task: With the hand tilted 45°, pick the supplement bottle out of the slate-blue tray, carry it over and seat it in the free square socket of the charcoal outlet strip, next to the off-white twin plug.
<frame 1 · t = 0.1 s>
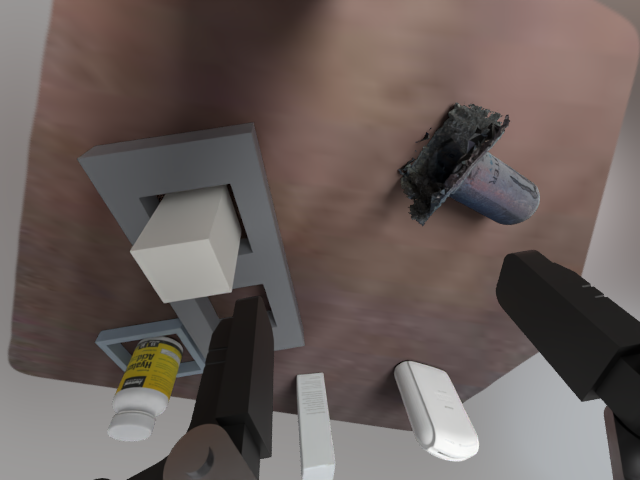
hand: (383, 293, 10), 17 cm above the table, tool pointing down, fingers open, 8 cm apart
dark piece: (464, 168, 27), on the table
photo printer: (419, 369, 49), on the table
socket strip: (226, 261, 30), on the table
supplement bottle: (161, 345, 38), resting in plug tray
skincare box: (309, 381, 47), on the table
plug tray: (160, 347, 37), on the table
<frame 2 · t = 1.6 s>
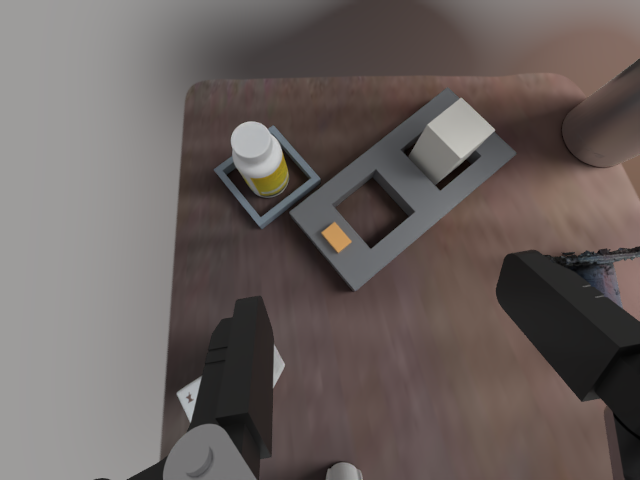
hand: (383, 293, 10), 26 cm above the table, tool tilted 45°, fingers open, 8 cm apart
dark piece: (573, 302, 36), on the table
socket strip: (399, 189, 38), on the table
supplement bottle: (269, 179, 39), resting in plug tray
skincare box: (256, 362, 35), on the table
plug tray: (268, 178, 39), on the table
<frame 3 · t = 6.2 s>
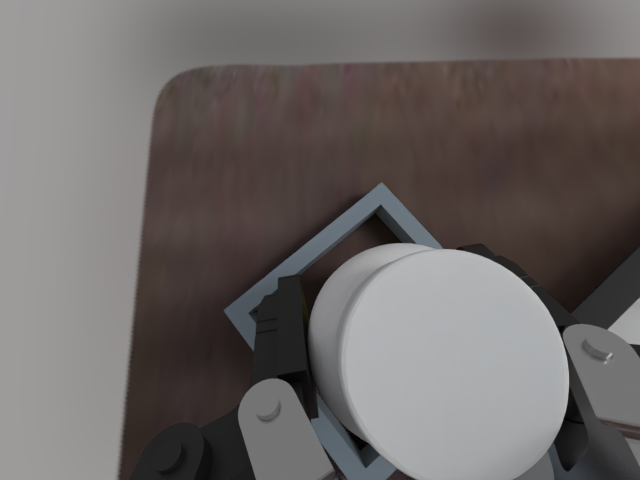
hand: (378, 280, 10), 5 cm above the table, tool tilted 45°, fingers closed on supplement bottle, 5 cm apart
supplement bottle: (368, 322, 15), resting in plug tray, touching gripper
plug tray: (368, 322, 15), on the table
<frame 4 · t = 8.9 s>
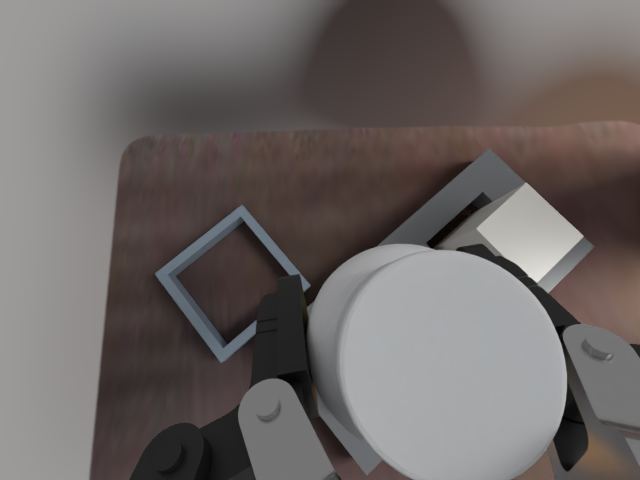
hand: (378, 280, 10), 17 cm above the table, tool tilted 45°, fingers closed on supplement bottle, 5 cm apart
socket strip: (424, 294, 27), on the table
supplement bottle: (367, 322, 15), point 12 cm above the table, touching gripper
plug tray: (237, 280, 27), on the table
when the fingers open (6 cm above the table, at t = 11.8 s): supplement bottle drops 1 cm, resting in socket strip.
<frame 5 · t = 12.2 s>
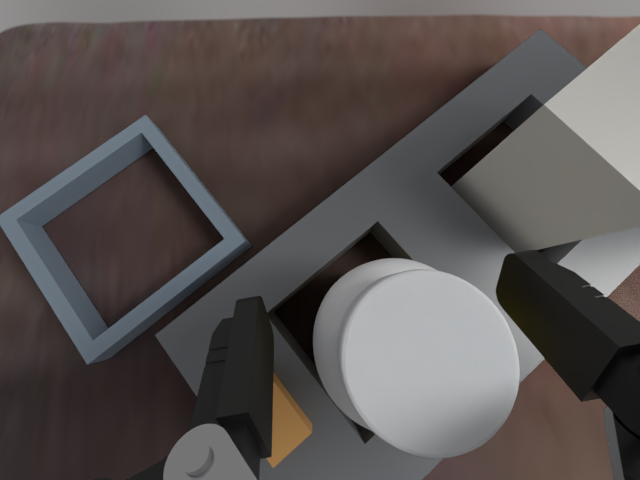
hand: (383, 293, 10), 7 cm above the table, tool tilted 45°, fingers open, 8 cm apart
socket strip: (431, 262, 17), on the table
supplement bottle: (366, 324, 16), resting in socket strip
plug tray: (136, 235, 17), on the table
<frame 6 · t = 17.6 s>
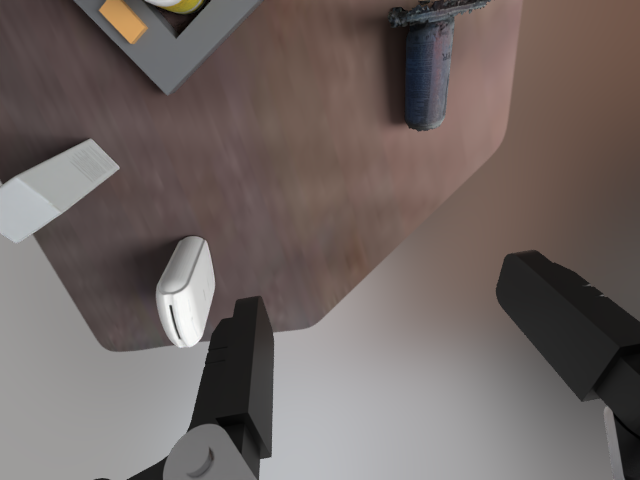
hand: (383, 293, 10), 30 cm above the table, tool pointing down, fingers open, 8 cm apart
dark piece: (418, 67, 34), on the table
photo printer: (199, 263, 45), on the table
skincare box: (90, 164, 35), on the table
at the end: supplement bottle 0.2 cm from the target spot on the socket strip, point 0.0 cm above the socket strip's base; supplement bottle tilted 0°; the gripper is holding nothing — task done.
